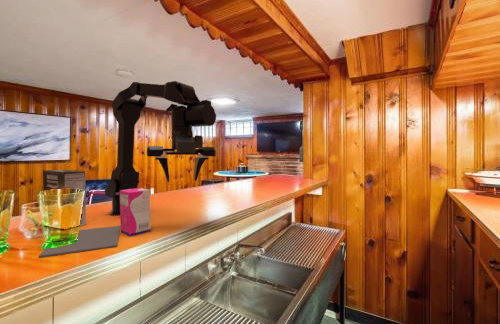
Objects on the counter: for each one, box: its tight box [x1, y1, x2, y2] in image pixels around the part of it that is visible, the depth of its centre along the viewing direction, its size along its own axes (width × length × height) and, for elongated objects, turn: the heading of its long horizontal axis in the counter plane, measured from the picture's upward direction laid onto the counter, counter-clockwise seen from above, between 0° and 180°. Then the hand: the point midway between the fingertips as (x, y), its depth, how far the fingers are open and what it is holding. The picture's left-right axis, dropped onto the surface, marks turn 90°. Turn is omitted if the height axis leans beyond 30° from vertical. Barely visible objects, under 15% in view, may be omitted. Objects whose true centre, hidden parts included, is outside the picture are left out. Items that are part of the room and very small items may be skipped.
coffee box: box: [42, 169, 87, 227], centre depth 70 cm, size 9×6×16 cm
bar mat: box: [38, 225, 121, 259], centre depth 60 cm, size 16×14×1 cm
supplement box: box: [119, 187, 152, 237], centre depth 66 cm, size 6×6×12 cm
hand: (182, 181), depth 71 cm, fingers open, 7 cm apart
